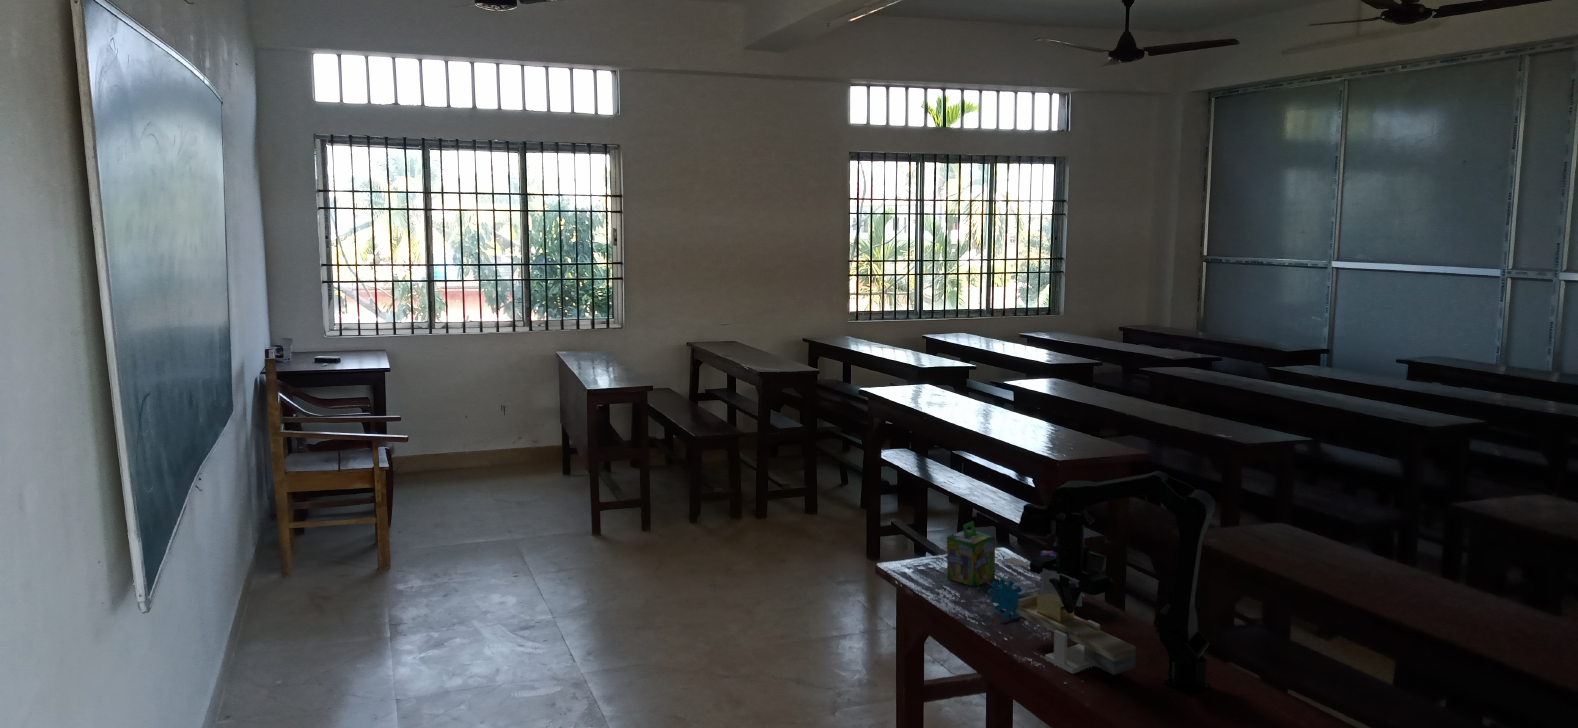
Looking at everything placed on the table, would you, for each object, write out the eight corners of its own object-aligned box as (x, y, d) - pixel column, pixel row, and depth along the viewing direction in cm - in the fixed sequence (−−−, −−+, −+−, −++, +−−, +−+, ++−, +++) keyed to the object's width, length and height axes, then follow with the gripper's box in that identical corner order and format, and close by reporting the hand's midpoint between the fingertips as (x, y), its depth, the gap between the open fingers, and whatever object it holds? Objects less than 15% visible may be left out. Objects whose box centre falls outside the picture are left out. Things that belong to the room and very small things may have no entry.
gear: (999, 617, 236) (985, 578, 242) (987, 628, 240) (974, 589, 246) (1039, 615, 240) (1024, 576, 246) (1026, 626, 244) (1012, 587, 250)
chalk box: (974, 588, 259) (974, 531, 256) (945, 579, 265) (945, 524, 263) (996, 578, 265) (996, 523, 262) (968, 569, 271) (967, 515, 269)
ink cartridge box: (1081, 598, 250) (1082, 541, 248) (1083, 607, 244) (1084, 549, 242) (1039, 596, 252) (1040, 540, 250) (1040, 605, 246) (1041, 547, 244)
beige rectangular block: (1073, 620, 219) (1074, 602, 219) (1060, 624, 218) (1060, 606, 217) (1050, 610, 225) (1050, 592, 225) (1036, 614, 224) (1036, 596, 223)
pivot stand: (1108, 661, 216) (1109, 628, 215) (1072, 673, 211) (1073, 640, 210) (1080, 647, 223) (1081, 615, 222) (1045, 659, 218) (1045, 626, 217)
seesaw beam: (1138, 666, 207) (1139, 635, 206) (1110, 676, 203) (1111, 645, 202) (1041, 619, 231) (1041, 592, 230) (1014, 628, 227) (1014, 600, 226)
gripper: (1131, 545, 211) (1131, 618, 213) (1065, 524, 227) (1065, 591, 229) (1092, 556, 205) (1092, 630, 208) (1027, 533, 222) (1028, 602, 224)
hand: (1070, 612), depth 217 cm, fingers closed
